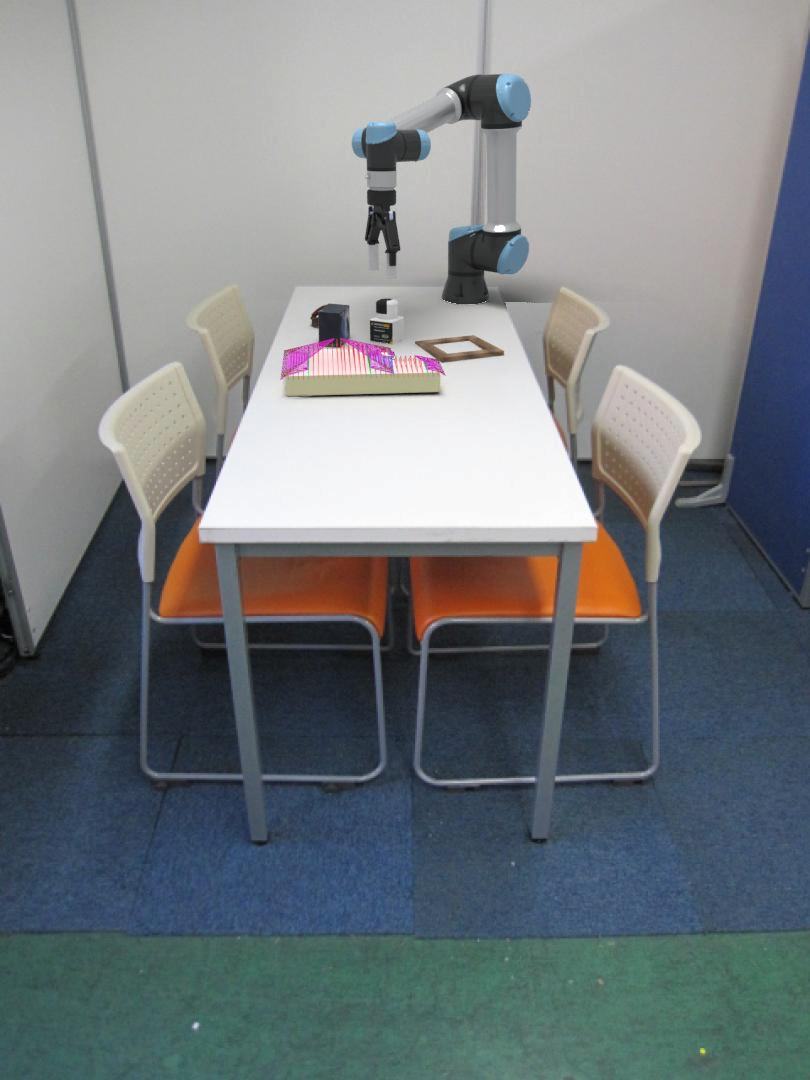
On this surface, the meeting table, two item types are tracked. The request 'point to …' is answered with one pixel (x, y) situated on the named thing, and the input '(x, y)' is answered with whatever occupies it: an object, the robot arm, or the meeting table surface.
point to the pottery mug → (315, 316)
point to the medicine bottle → (387, 323)
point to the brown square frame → (443, 357)
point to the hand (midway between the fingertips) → (382, 274)
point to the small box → (334, 324)
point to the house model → (357, 371)
